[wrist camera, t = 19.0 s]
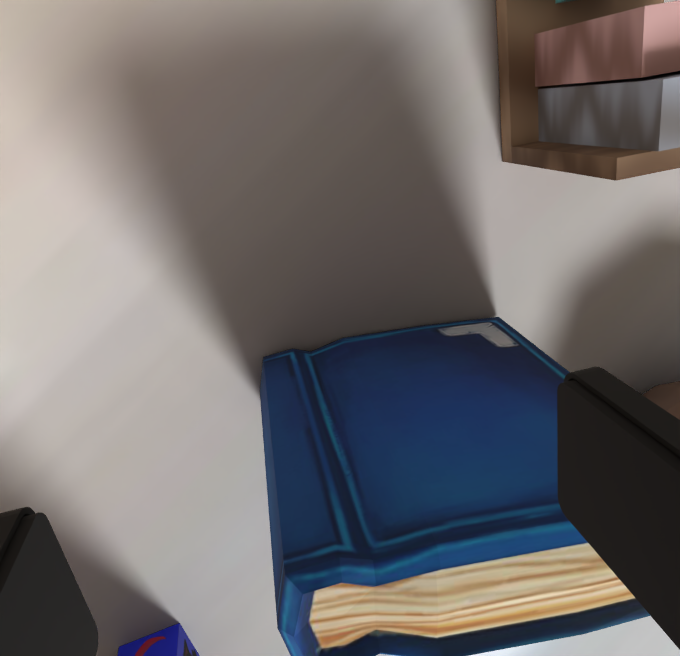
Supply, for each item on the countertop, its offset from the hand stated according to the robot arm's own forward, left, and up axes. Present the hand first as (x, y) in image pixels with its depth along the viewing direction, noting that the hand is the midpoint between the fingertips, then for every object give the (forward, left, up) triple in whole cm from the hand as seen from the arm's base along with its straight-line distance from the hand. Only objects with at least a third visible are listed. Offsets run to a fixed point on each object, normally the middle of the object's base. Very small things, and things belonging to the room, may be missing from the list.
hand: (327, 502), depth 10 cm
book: (+15, +8, -34) cm, 38 cm away
